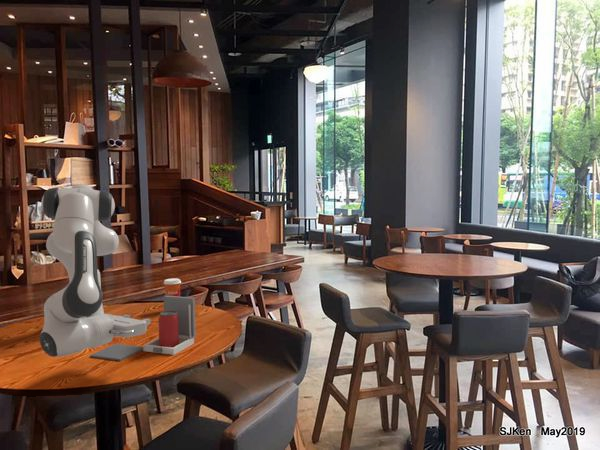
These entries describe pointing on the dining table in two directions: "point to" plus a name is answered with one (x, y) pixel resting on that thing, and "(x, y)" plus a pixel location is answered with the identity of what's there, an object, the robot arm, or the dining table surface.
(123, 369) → the dining table surface
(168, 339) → the beer can
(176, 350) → the case
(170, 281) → the paper cup
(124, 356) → the rubber mat
